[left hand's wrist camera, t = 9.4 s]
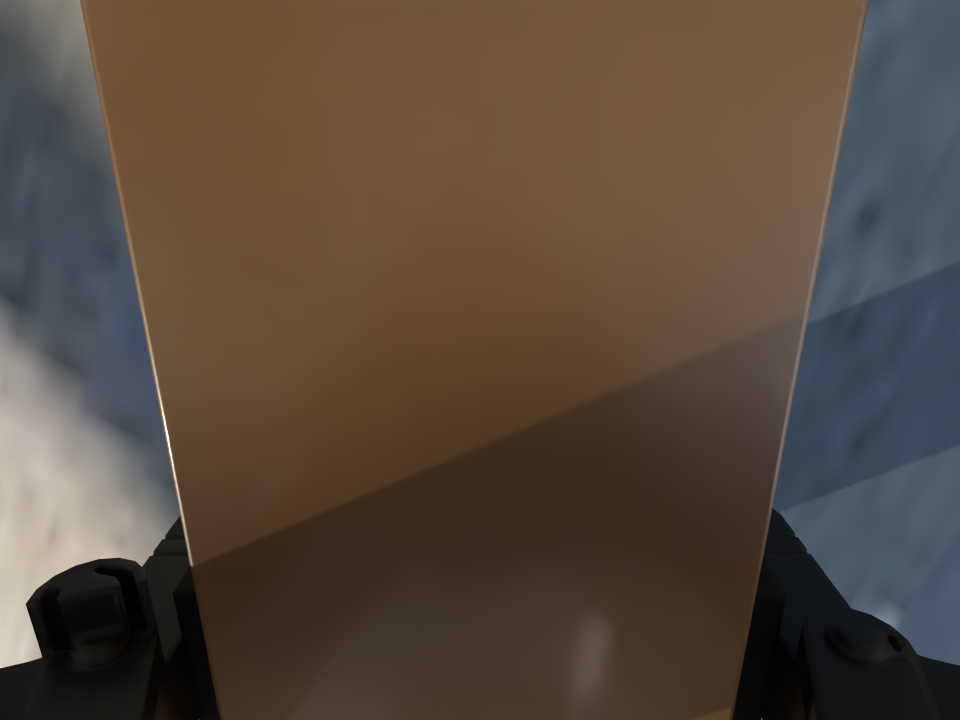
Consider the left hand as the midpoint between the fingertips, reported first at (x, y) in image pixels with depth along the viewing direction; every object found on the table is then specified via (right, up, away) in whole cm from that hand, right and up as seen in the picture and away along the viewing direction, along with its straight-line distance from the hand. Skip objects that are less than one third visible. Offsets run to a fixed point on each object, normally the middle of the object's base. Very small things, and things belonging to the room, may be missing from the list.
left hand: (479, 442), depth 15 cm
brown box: (0, +8, -2) cm, 9 cm away
